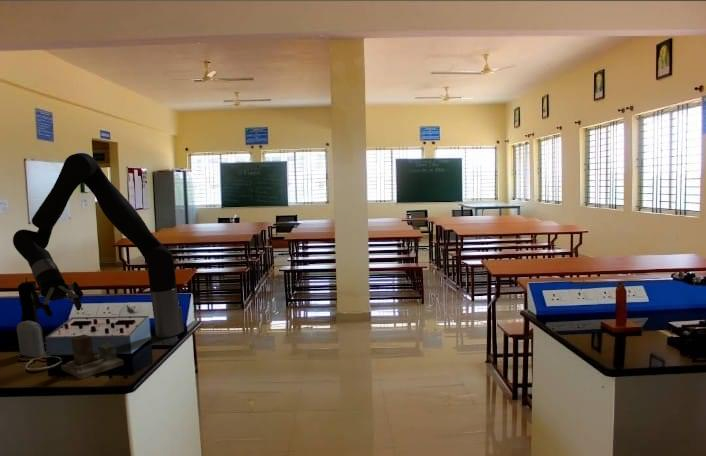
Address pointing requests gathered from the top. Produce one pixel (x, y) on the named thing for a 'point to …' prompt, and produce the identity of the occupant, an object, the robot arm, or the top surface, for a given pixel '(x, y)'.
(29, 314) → the portable radio
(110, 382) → the top surface
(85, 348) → the walnut block
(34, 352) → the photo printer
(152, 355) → the top surface
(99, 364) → the base board
